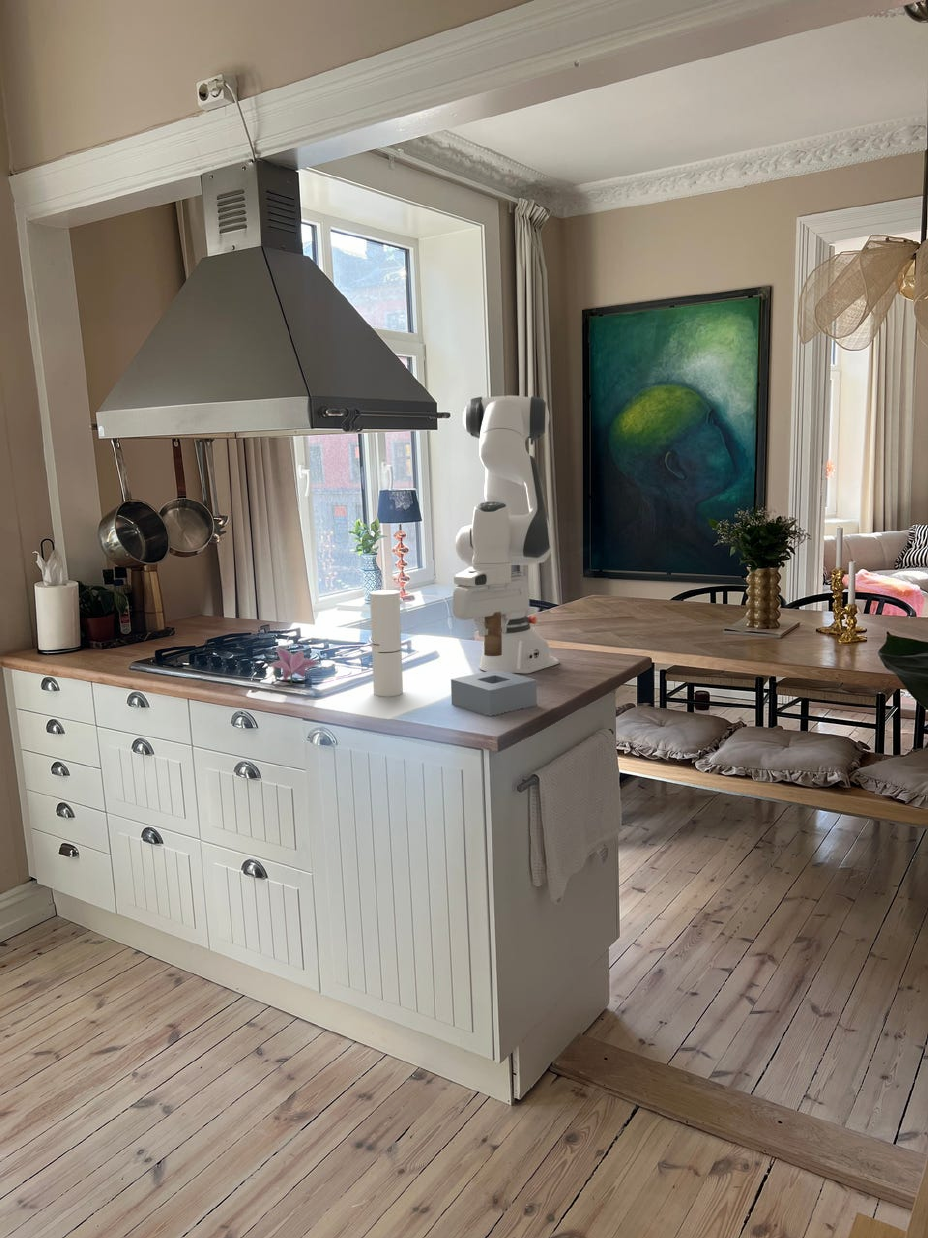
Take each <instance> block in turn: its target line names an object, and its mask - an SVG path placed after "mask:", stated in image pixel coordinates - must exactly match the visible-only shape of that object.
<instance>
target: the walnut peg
mask: <svg viewBox="0 0 928 1238" xmlns="http://www.w3.org/2000/svg"><path fill="white" fill-rule="evenodd" d="M484 626H485V628H488V636H485V637H483V641H484V655H486V656H500V655H502V626H501V612H496V613H494V615H493V616H488V617H485V622H484Z"/></svg>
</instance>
